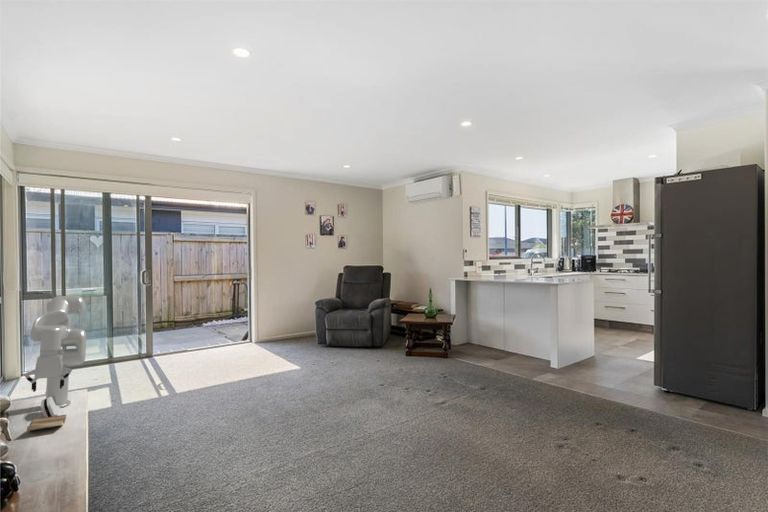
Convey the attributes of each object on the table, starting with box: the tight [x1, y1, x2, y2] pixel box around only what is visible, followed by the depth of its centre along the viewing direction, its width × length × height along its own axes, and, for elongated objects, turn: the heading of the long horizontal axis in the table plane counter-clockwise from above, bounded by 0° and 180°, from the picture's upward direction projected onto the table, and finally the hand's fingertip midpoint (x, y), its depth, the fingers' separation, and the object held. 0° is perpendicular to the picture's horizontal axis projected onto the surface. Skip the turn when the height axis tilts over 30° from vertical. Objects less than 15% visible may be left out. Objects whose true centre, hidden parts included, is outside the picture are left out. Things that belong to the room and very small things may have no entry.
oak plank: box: [26, 421, 65, 432], centre depth 186 cm, size 11×12×2 cm
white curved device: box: [40, 397, 61, 418], centre depth 207 cm, size 17×5×10 cm, turn 38°
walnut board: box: [30, 414, 67, 426], centre depth 195 cm, size 12×13×2 cm
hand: (47, 389), depth 185 cm, fingers open, 9 cm apart
